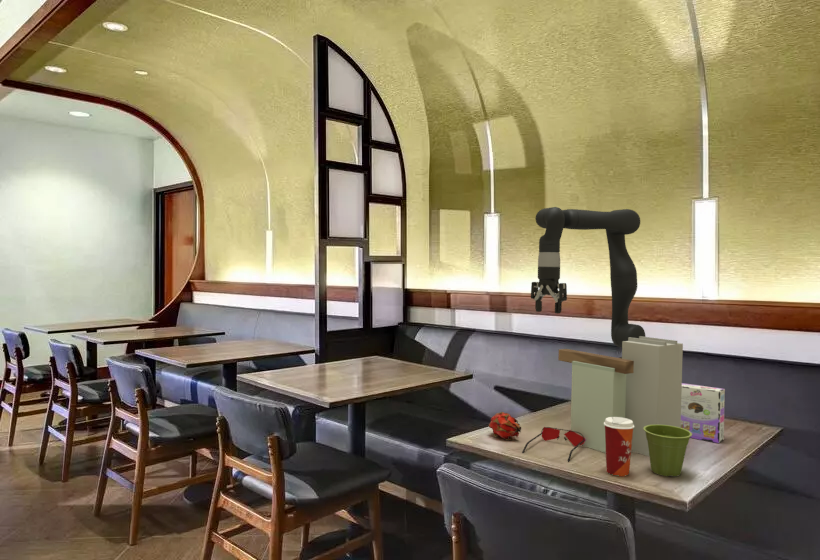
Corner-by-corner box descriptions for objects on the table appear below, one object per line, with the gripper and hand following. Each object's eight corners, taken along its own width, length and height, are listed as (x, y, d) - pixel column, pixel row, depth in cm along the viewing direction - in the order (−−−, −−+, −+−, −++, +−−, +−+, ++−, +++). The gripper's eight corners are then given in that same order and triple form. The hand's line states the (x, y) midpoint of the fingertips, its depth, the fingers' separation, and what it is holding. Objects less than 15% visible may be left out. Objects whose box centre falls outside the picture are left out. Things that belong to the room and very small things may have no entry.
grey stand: (643, 441, 184) (646, 335, 183) (679, 451, 174) (682, 340, 173) (619, 447, 177) (622, 338, 176) (656, 458, 168) (659, 342, 167)
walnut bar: (566, 359, 191) (566, 348, 191) (633, 372, 169) (633, 360, 169) (558, 360, 189) (558, 349, 189) (625, 373, 167) (625, 361, 167)
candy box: (724, 440, 187) (726, 388, 186) (718, 444, 183) (720, 391, 182) (679, 431, 196) (680, 381, 196) (672, 434, 192) (674, 384, 191)
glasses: (586, 448, 178) (586, 431, 177) (569, 463, 164) (569, 445, 163) (541, 440, 185) (541, 424, 185) (521, 454, 171) (521, 437, 171)
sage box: (583, 438, 186) (584, 359, 185) (624, 451, 174) (626, 366, 173) (570, 441, 183) (572, 361, 182) (611, 454, 170) (613, 368, 170)
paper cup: (629, 480, 151) (631, 425, 150) (599, 474, 155) (600, 420, 154) (636, 471, 157) (637, 418, 157) (606, 465, 161) (607, 414, 161)
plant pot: (641, 476, 153) (642, 433, 153) (643, 462, 164) (644, 422, 164) (691, 483, 149) (692, 439, 148) (690, 469, 159) (691, 427, 159)
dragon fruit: (491, 436, 192) (518, 451, 183) (477, 425, 187) (504, 440, 178) (505, 414, 194) (532, 428, 185) (492, 402, 189) (519, 416, 180)
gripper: (572, 266, 200) (571, 313, 201) (541, 265, 212) (540, 310, 212) (557, 265, 196) (556, 314, 196) (526, 265, 208) (525, 311, 208)
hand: (548, 312), depth 204 cm, fingers open, 8 cm apart
